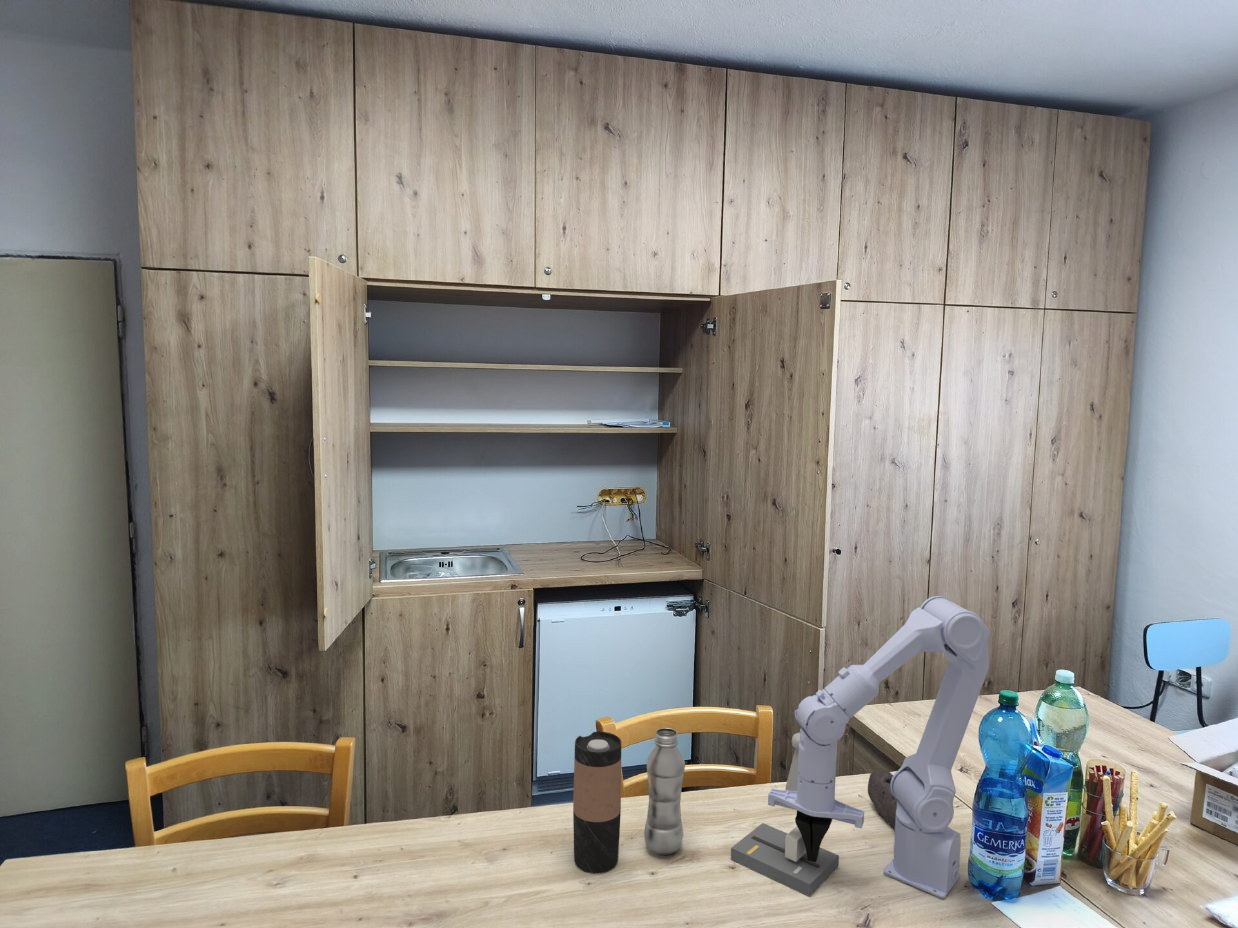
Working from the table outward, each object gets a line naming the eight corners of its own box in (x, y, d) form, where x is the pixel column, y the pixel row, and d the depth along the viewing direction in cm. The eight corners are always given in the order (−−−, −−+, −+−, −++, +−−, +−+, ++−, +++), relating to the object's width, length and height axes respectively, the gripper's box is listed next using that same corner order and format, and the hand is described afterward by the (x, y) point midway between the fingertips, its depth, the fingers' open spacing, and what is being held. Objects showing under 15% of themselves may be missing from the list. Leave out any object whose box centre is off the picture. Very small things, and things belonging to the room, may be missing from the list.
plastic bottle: (636, 852, 128) (639, 735, 126) (654, 832, 134) (657, 720, 132) (672, 864, 125) (676, 744, 123) (689, 843, 131) (692, 729, 129)
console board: (838, 866, 125) (839, 854, 125) (809, 896, 118) (809, 883, 118) (762, 833, 134) (762, 822, 134) (730, 859, 127) (731, 846, 127)
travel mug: (614, 877, 121) (616, 754, 120) (567, 870, 123) (568, 749, 121) (623, 849, 129) (626, 733, 127) (579, 843, 130) (580, 728, 129)
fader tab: (808, 850, 125) (809, 829, 125) (796, 861, 122) (797, 840, 122) (796, 845, 127) (797, 825, 126) (784, 856, 124) (785, 835, 123)
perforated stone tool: (931, 848, 131) (933, 808, 131) (901, 849, 131) (903, 810, 130) (891, 801, 146) (893, 766, 145) (864, 802, 145) (865, 767, 145)
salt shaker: (820, 811, 142) (823, 742, 141) (788, 810, 142) (791, 742, 141) (812, 794, 148) (815, 729, 147) (782, 793, 148) (785, 728, 147)
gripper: (868, 774, 122) (864, 856, 123) (777, 754, 128) (773, 832, 129) (861, 795, 115) (857, 881, 117) (765, 772, 122) (762, 854, 123)
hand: (812, 857), depth 123 cm, fingers closed
